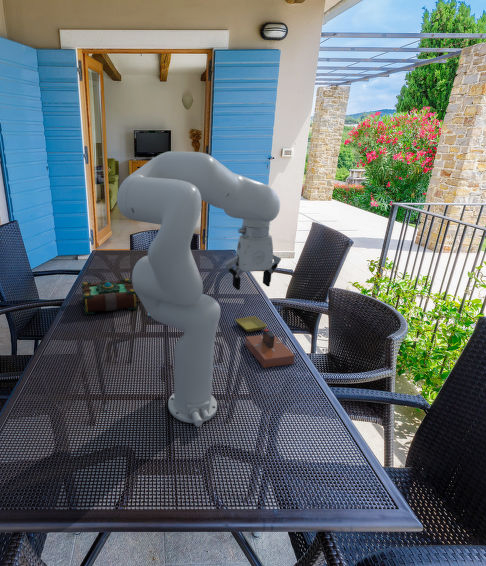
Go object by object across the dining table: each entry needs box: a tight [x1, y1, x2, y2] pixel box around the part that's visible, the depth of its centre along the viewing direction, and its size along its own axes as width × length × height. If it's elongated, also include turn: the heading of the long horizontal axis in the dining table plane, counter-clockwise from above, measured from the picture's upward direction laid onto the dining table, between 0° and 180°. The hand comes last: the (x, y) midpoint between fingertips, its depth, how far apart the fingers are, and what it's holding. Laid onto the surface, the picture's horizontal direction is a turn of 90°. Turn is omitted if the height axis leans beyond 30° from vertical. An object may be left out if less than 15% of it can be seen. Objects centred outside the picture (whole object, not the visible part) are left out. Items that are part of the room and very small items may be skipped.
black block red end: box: [262, 328, 276, 348], centre depth 120 cm, size 5×2×4 cm, turn 13°
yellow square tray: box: [234, 315, 268, 333], centre depth 137 cm, size 9×9×2 cm
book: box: [81, 277, 141, 315], centre depth 156 cm, size 27×21×10 cm
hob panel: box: [244, 333, 296, 369], centre depth 121 cm, size 14×10×3 cm
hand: (251, 286), depth 113 cm, fingers open, 9 cm apart
